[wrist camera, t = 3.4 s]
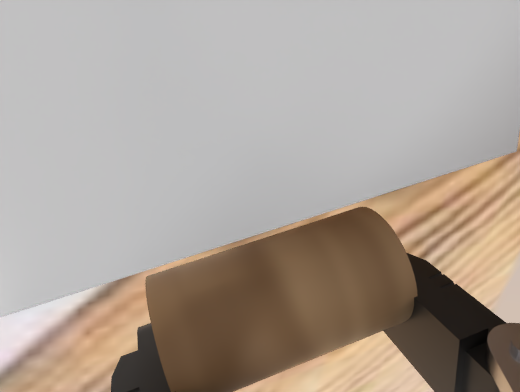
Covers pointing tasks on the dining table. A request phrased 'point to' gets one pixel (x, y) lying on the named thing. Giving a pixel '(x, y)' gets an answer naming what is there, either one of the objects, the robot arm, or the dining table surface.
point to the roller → (279, 301)
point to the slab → (228, 121)
